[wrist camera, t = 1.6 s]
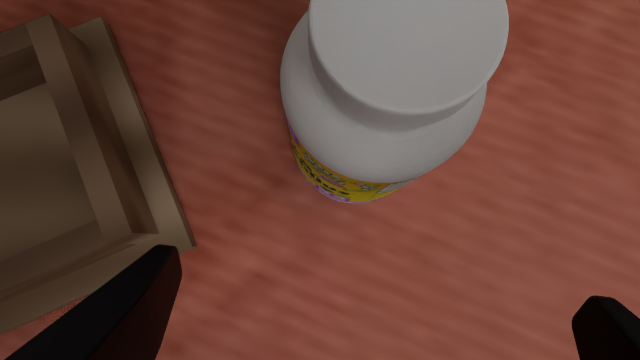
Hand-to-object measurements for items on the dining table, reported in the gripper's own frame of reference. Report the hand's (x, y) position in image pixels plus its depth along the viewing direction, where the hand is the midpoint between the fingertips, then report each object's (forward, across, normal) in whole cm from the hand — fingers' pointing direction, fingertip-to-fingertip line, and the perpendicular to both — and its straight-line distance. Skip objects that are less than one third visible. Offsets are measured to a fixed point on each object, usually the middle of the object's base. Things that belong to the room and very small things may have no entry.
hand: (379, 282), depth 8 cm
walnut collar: (+10, +17, +7) cm, 21 cm away
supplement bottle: (+13, 0, +5) cm, 14 cm away
